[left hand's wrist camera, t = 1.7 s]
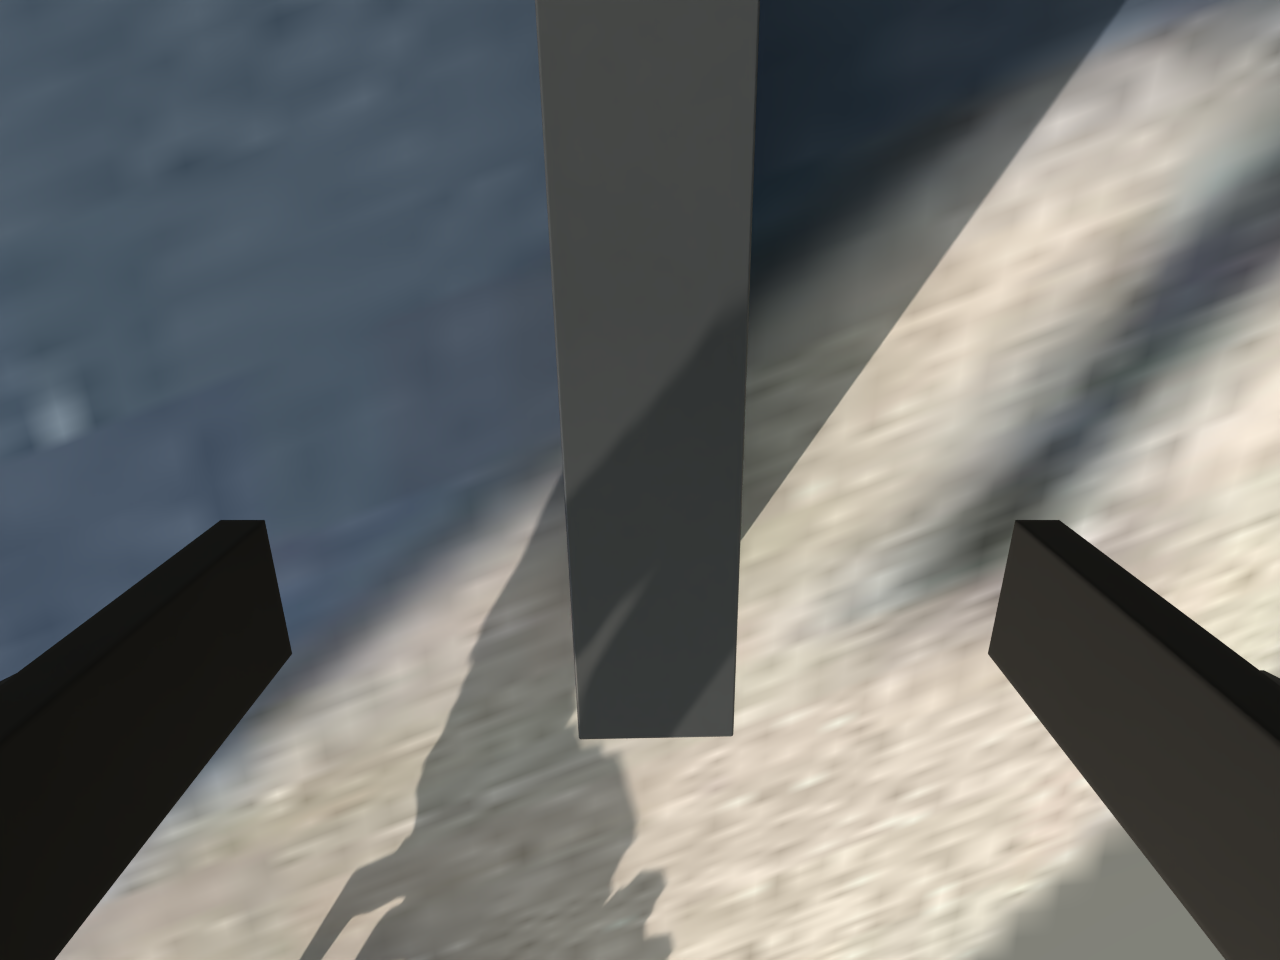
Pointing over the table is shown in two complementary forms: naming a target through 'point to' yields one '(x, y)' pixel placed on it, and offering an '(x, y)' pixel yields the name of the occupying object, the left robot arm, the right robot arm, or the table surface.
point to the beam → (651, 345)
